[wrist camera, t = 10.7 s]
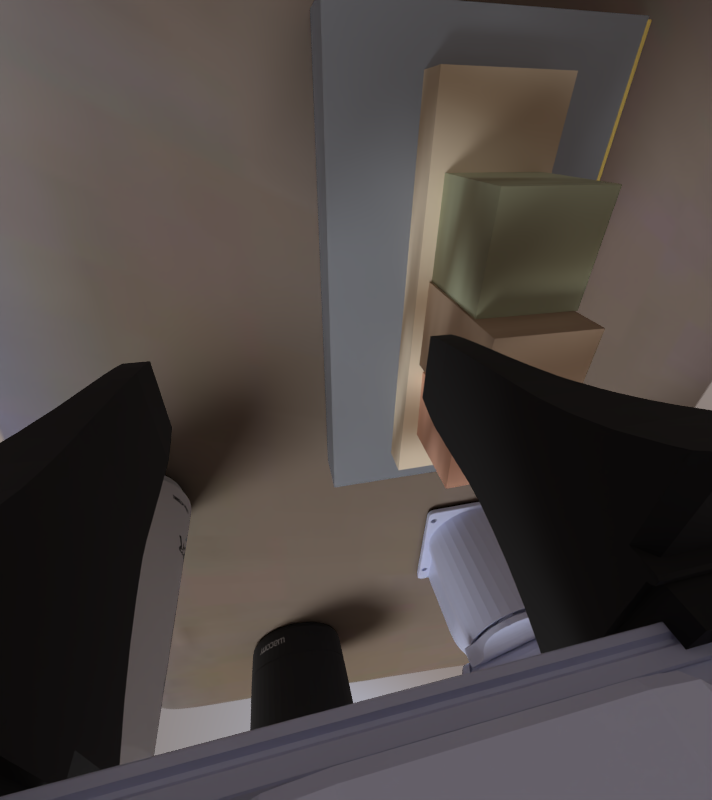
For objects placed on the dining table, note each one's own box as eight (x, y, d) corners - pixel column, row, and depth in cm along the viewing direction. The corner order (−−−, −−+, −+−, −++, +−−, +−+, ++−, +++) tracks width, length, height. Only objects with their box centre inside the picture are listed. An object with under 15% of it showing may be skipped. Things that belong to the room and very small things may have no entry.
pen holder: (345, 611, 39) (370, 737, 31) (337, 655, 44) (356, 773, 36) (247, 627, 36) (246, 768, 28) (250, 672, 42) (251, 802, 34)
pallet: (466, 441, 25) (529, 534, 19) (391, 453, 24) (434, 553, 18) (551, 75, 14) (739, 43, 9) (424, 69, 14) (545, 30, 8)
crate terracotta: (484, 423, 22) (523, 474, 19) (416, 434, 21) (446, 488, 18) (497, 361, 20) (545, 407, 17) (422, 371, 19) (457, 421, 16)
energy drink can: (161, 539, 27) (92, 861, 15) (68, 510, 24) (-111, 889, 12) (211, 487, 26) (178, 804, 14) (118, 448, 22) (-33, 818, 10)
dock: (496, 435, 29) (515, 458, 27) (328, 460, 27) (334, 487, 25) (612, 30, 16) (662, 16, 14) (310, 9, 14) (320, -11, 12)
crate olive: (516, 276, 17) (577, 310, 14) (431, 282, 16) (475, 319, 13) (542, 171, 15) (621, 184, 12) (445, 173, 14) (501, 186, 11)
